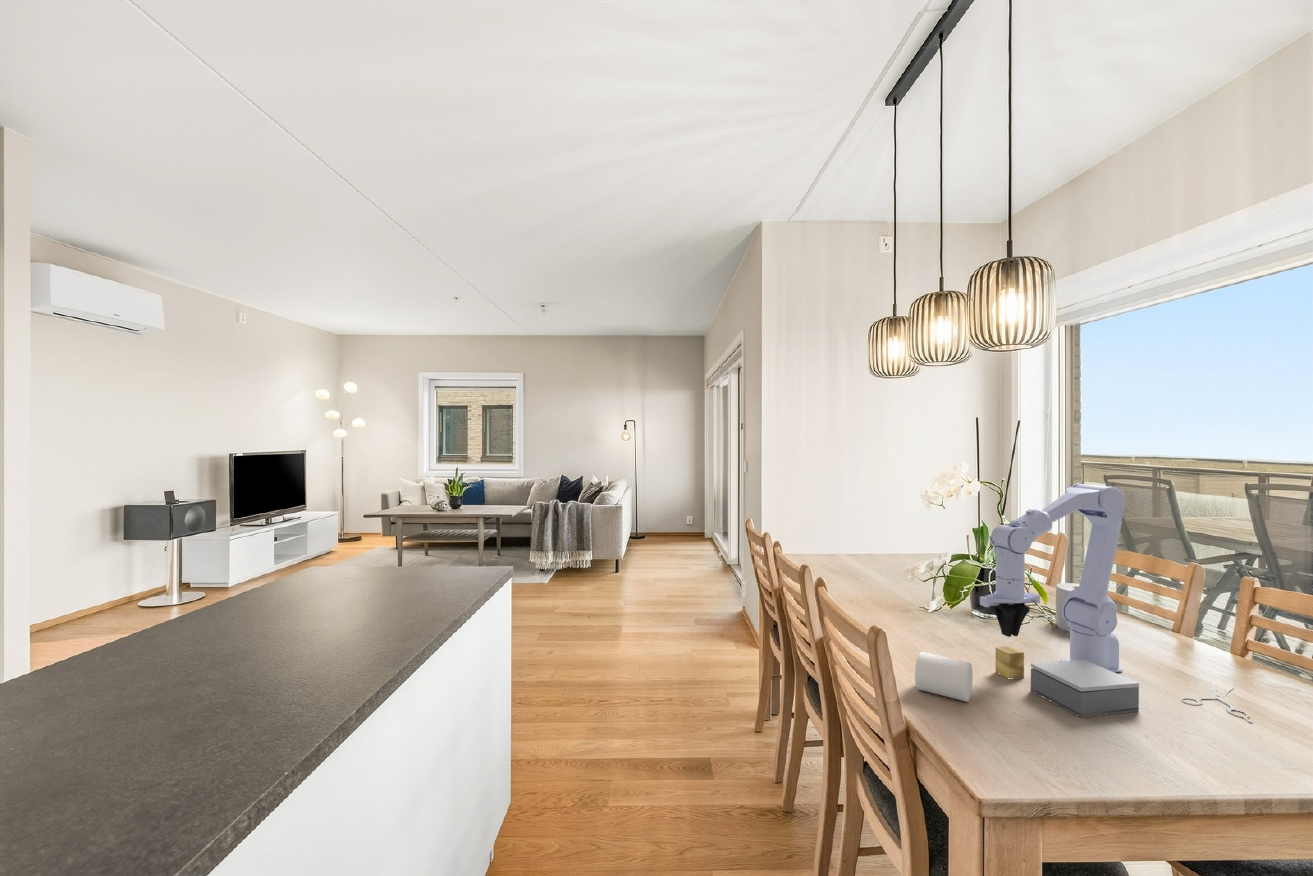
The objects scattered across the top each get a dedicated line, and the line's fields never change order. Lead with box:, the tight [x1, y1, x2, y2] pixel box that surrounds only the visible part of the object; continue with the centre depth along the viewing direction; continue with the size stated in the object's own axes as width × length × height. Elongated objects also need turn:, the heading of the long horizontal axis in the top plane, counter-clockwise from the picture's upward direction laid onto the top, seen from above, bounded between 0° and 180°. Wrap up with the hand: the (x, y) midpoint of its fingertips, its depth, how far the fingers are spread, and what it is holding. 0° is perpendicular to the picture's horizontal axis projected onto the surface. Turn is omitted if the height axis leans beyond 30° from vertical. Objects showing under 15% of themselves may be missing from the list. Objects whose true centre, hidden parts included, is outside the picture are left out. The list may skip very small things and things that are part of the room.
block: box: [995, 645, 1025, 679], centre depth 133 cm, size 4×4×6 cm
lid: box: [1030, 660, 1140, 692], centre depth 121 cm, size 14×12×1 cm
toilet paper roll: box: [1055, 582, 1096, 633], centre depth 164 cm, size 12×12×12 cm
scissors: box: [1180, 681, 1253, 724], centre depth 122 cm, size 11×1×20 cm
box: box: [1030, 667, 1140, 719], centre depth 121 cm, size 14×12×5 cm
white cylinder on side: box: [914, 651, 974, 703], centre depth 126 cm, size 12×10×8 cm
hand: (1009, 635), depth 133 cm, fingers closed
